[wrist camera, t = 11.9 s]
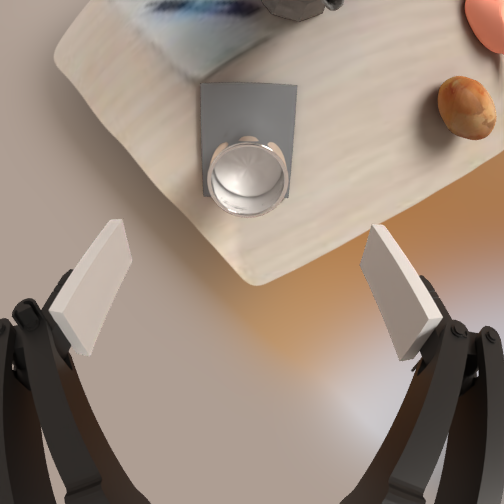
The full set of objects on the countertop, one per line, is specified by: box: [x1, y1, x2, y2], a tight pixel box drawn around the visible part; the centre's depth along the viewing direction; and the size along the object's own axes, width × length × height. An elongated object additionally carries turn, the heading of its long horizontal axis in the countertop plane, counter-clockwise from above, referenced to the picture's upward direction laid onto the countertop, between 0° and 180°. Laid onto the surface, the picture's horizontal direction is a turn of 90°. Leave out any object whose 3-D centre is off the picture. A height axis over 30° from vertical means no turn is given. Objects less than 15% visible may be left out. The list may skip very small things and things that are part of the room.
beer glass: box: [207, 120, 289, 218], centre depth 28 cm, size 7×7×15 cm
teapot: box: [465, 0, 504, 54], centre depth 15 cm, size 12×18×10 cm
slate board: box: [201, 82, 297, 198], centre depth 34 cm, size 16×12×1 cm
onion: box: [438, 76, 496, 140], centre depth 25 cm, size 10×10×10 cm
